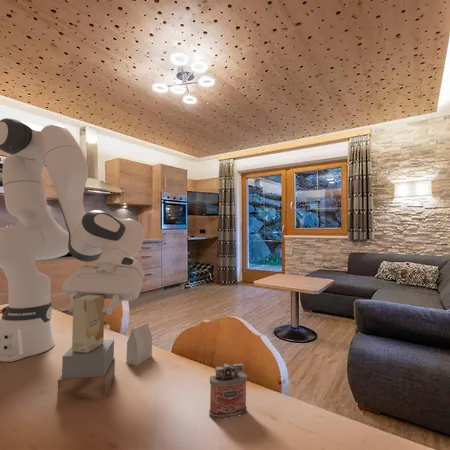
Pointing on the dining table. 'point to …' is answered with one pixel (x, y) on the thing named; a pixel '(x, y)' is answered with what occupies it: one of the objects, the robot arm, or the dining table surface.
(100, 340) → the skincare box
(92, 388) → the tower base block
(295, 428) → the dining table surface
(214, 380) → the lighter
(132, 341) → the white red printed carton
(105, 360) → the tower top block
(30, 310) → the robot arm
